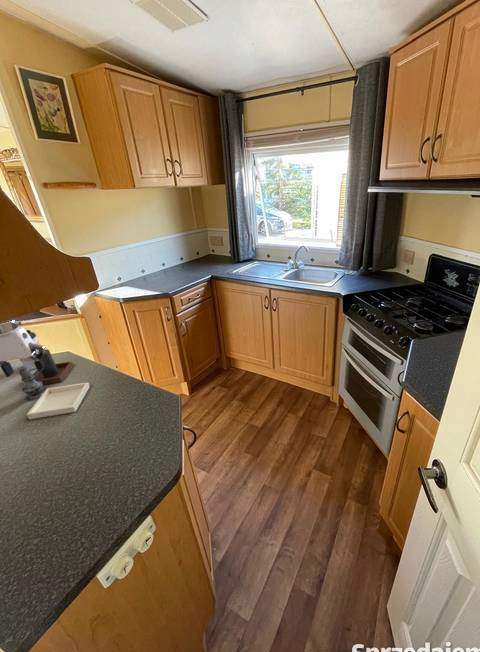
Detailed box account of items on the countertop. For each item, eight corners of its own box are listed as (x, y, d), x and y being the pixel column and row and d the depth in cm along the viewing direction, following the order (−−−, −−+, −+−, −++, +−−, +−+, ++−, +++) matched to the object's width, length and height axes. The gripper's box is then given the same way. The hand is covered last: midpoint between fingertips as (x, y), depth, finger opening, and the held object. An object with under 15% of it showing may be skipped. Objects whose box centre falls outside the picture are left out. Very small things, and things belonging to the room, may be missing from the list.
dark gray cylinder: (41, 379, 111) (30, 357, 107) (47, 372, 116) (37, 350, 111) (55, 377, 112) (45, 355, 108) (61, 370, 116) (51, 348, 112)
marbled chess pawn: (49, 391, 105) (36, 363, 99) (32, 401, 100) (17, 372, 95) (40, 387, 107) (26, 360, 102) (22, 397, 102) (7, 369, 97)
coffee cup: (27, 373, 116) (11, 340, 110) (18, 367, 121) (1, 335, 114) (52, 362, 123) (37, 331, 117) (42, 357, 128) (27, 326, 121)
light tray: (29, 419, 92) (26, 414, 91) (49, 392, 104) (46, 388, 103) (75, 411, 94) (73, 406, 93) (89, 386, 106) (88, 382, 105)
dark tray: (27, 386, 108) (25, 382, 107) (42, 369, 118) (40, 365, 117) (61, 381, 110) (59, 377, 109) (73, 365, 120) (72, 361, 119)
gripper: (38, 318, 96) (58, 362, 104) (-21, 326, 94) (4, 370, 101) (26, 328, 90) (48, 373, 97) (-38, 336, 87) (-9, 382, 95)
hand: (26, 371), depth 99 cm, fingers open, 9 cm apart
